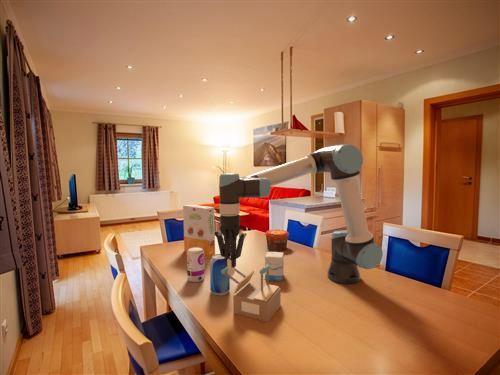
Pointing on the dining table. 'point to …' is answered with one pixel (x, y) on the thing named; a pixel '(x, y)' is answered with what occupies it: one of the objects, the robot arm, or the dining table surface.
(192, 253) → the supplement can
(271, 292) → the near flap
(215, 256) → the beer can
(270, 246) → the food container
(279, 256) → the ink box
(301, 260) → the dining table surface
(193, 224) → the cereal box
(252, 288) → the carton
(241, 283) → the far flap
